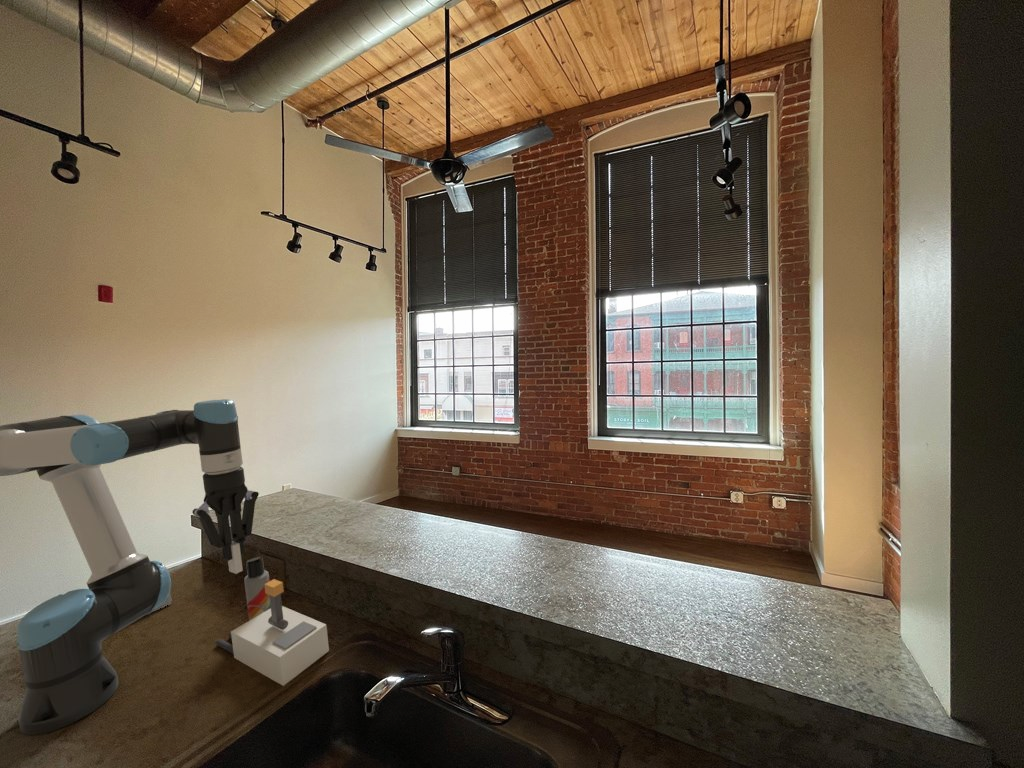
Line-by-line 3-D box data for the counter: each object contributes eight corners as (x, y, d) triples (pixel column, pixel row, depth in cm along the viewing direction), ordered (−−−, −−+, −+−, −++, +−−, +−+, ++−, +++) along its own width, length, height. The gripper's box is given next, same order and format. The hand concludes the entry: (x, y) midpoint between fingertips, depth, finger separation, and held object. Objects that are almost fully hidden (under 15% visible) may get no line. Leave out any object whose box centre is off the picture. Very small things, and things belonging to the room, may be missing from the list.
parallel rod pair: (216, 646, 109) (215, 641, 109) (234, 635, 113) (233, 630, 113) (235, 657, 105) (234, 651, 105) (253, 645, 109) (252, 640, 109)
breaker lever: (267, 626, 105) (262, 583, 103) (277, 620, 107) (272, 578, 106) (280, 632, 102) (274, 588, 101) (289, 625, 104) (284, 583, 103)
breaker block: (234, 657, 105) (230, 629, 104) (280, 628, 115) (277, 602, 114) (283, 685, 95) (279, 655, 94) (329, 650, 105) (326, 623, 105)
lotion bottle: (255, 637, 112) (247, 565, 110) (246, 629, 115) (238, 560, 113) (278, 625, 116) (270, 556, 114) (268, 618, 120) (260, 551, 118)
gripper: (198, 480, 86) (213, 590, 88) (262, 463, 97) (273, 560, 99) (180, 476, 89) (194, 582, 92) (244, 460, 101) (255, 554, 103)
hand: (235, 570), depth 96 cm, fingers closed
